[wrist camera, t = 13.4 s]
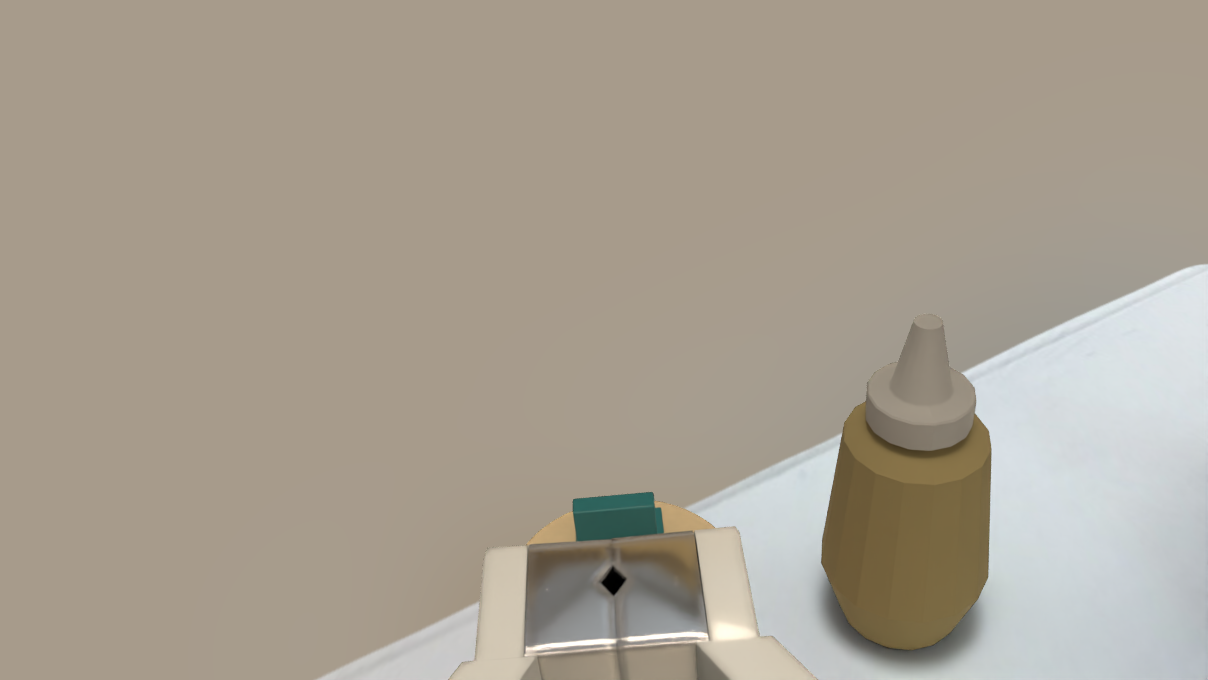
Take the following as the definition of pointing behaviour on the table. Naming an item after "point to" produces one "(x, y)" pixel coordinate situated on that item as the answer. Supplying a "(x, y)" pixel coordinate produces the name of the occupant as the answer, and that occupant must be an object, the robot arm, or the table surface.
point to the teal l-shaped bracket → (616, 516)
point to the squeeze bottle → (911, 499)
